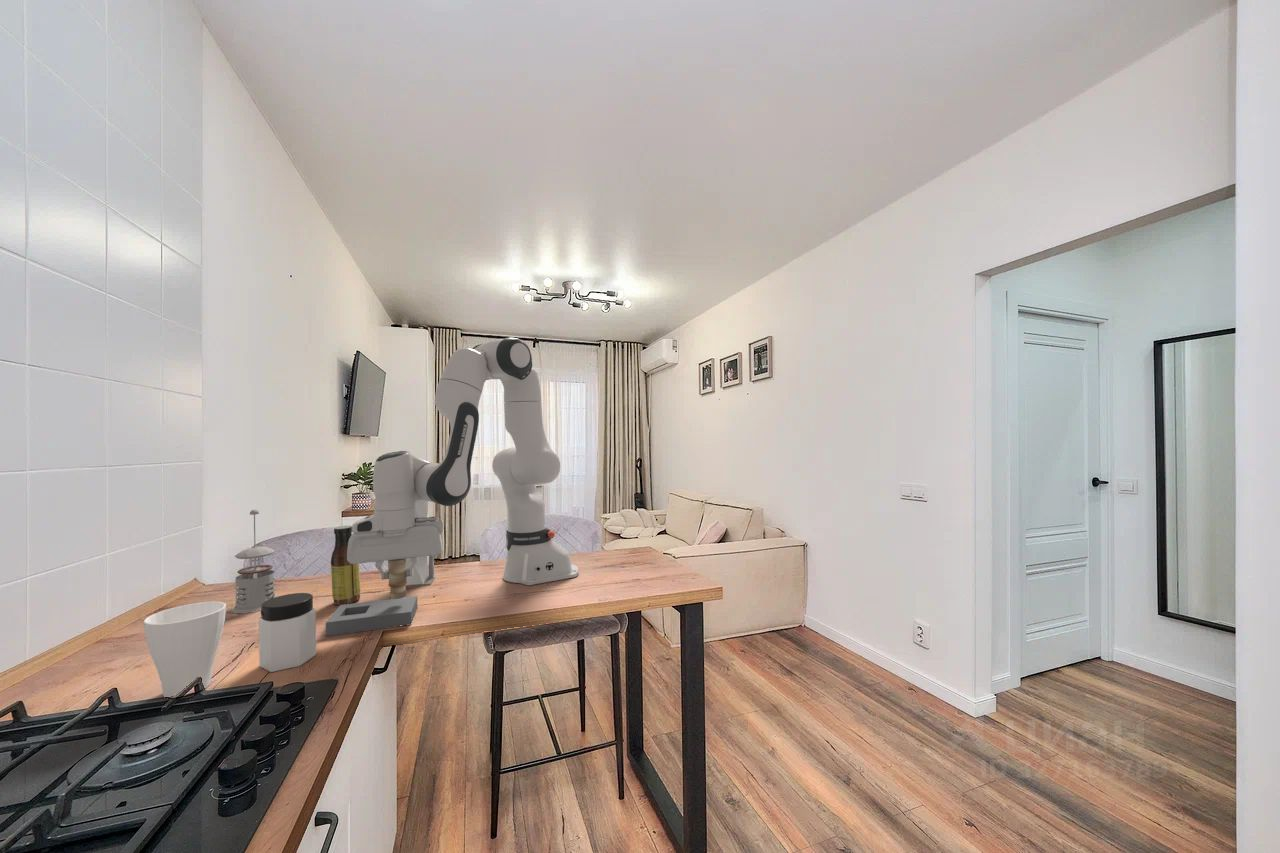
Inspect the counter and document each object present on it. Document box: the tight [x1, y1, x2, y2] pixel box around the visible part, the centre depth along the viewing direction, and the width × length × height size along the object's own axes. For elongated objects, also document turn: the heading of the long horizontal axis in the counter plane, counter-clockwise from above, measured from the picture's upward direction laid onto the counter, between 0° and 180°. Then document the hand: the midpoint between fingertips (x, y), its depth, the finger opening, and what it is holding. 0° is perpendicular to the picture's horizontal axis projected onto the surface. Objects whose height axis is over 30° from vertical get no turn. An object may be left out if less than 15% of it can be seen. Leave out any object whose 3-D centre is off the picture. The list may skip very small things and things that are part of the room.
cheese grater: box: [405, 500, 436, 588], centre depth 140 cm, size 8×8×28 cm
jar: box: [258, 592, 317, 673], centre depth 93 cm, size 9×8×12 cm
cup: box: [143, 601, 227, 698], centre depth 83 cm, size 10×10×14 cm
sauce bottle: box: [330, 525, 361, 606], centre depth 125 cm, size 6×6×20 cm
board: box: [325, 595, 418, 637], centre depth 112 cm, size 17×11×3 cm, turn 108°
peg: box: [387, 558, 407, 599], centre depth 114 cm, size 4×4×9 cm
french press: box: [230, 509, 276, 614], centre depth 124 cm, size 10×12×25 cm
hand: (397, 577), depth 114 cm, fingers closed on peg, 4 cm apart
